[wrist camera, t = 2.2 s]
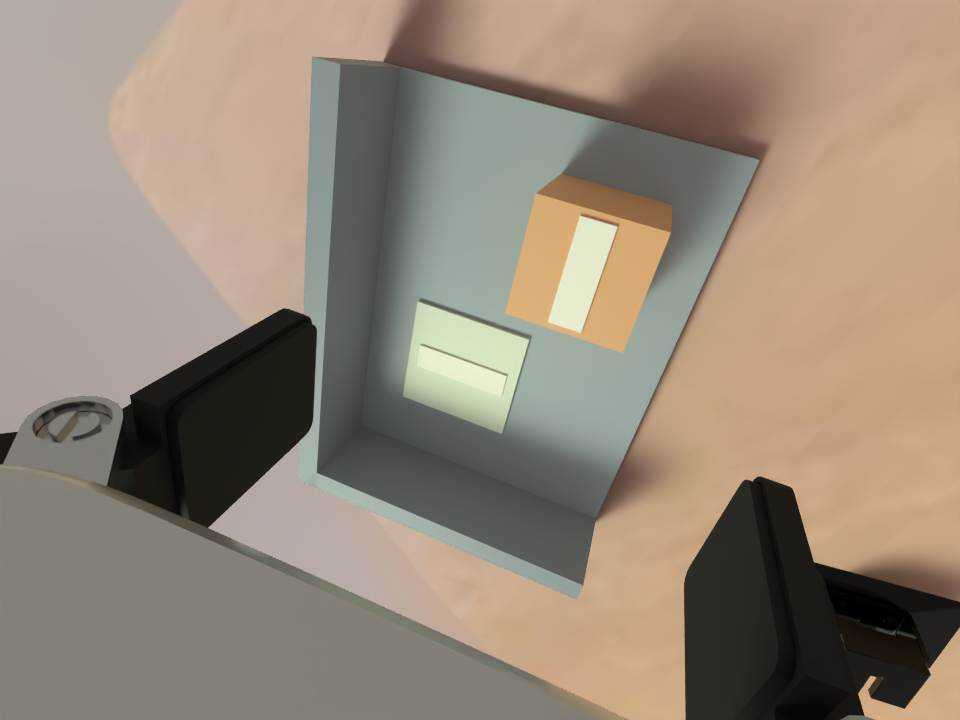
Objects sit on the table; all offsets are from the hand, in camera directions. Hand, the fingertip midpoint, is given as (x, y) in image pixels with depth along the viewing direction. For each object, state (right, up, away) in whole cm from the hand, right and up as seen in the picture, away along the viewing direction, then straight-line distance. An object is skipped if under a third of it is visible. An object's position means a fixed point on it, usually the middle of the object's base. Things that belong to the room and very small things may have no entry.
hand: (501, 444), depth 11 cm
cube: (+5, +7, +13) cm, 16 cm away
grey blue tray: (+1, +4, +17) cm, 18 cm away
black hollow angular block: (+21, -12, +19) cm, 30 cm away
